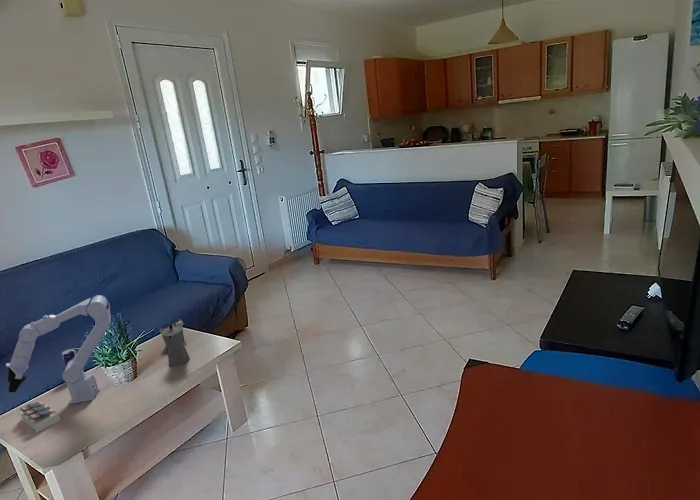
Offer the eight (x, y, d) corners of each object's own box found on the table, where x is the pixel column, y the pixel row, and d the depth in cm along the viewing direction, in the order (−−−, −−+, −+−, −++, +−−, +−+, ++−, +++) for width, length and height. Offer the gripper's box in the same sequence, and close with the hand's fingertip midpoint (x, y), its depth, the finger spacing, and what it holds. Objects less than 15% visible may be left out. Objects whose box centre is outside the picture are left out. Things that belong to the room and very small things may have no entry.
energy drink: (76, 378, 202) (68, 354, 199) (66, 378, 204) (58, 354, 200) (85, 371, 207) (77, 348, 204) (75, 371, 209) (67, 348, 205)
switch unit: (44, 407, 181) (42, 401, 180) (60, 419, 172) (58, 412, 171) (22, 419, 175) (19, 412, 174) (37, 432, 166) (34, 425, 165)
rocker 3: (47, 412, 172) (47, 408, 172) (51, 414, 170) (51, 410, 170) (29, 418, 168) (29, 414, 167) (33, 421, 165) (32, 417, 165)
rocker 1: (38, 404, 178) (37, 400, 178) (41, 407, 176) (41, 403, 176) (20, 410, 174) (19, 406, 173) (23, 413, 171) (23, 409, 171)
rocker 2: (42, 408, 175) (42, 404, 175) (46, 411, 173) (46, 407, 173) (24, 414, 171) (24, 410, 170) (28, 417, 168) (27, 413, 168)
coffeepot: (188, 365, 201) (179, 328, 196) (166, 370, 199) (156, 333, 194) (191, 349, 215) (183, 315, 210) (171, 354, 214) (162, 319, 209)
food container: (171, 349, 218) (166, 330, 216) (163, 347, 222) (158, 328, 219) (192, 338, 228) (187, 320, 225) (184, 336, 231) (179, 318, 229)
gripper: (9, 345, 177) (-2, 376, 178) (10, 362, 166) (-1, 396, 167) (30, 346, 181) (19, 377, 182) (33, 363, 171) (22, 396, 172)
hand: (11, 386), depth 175 cm, fingers open, 7 cm apart
